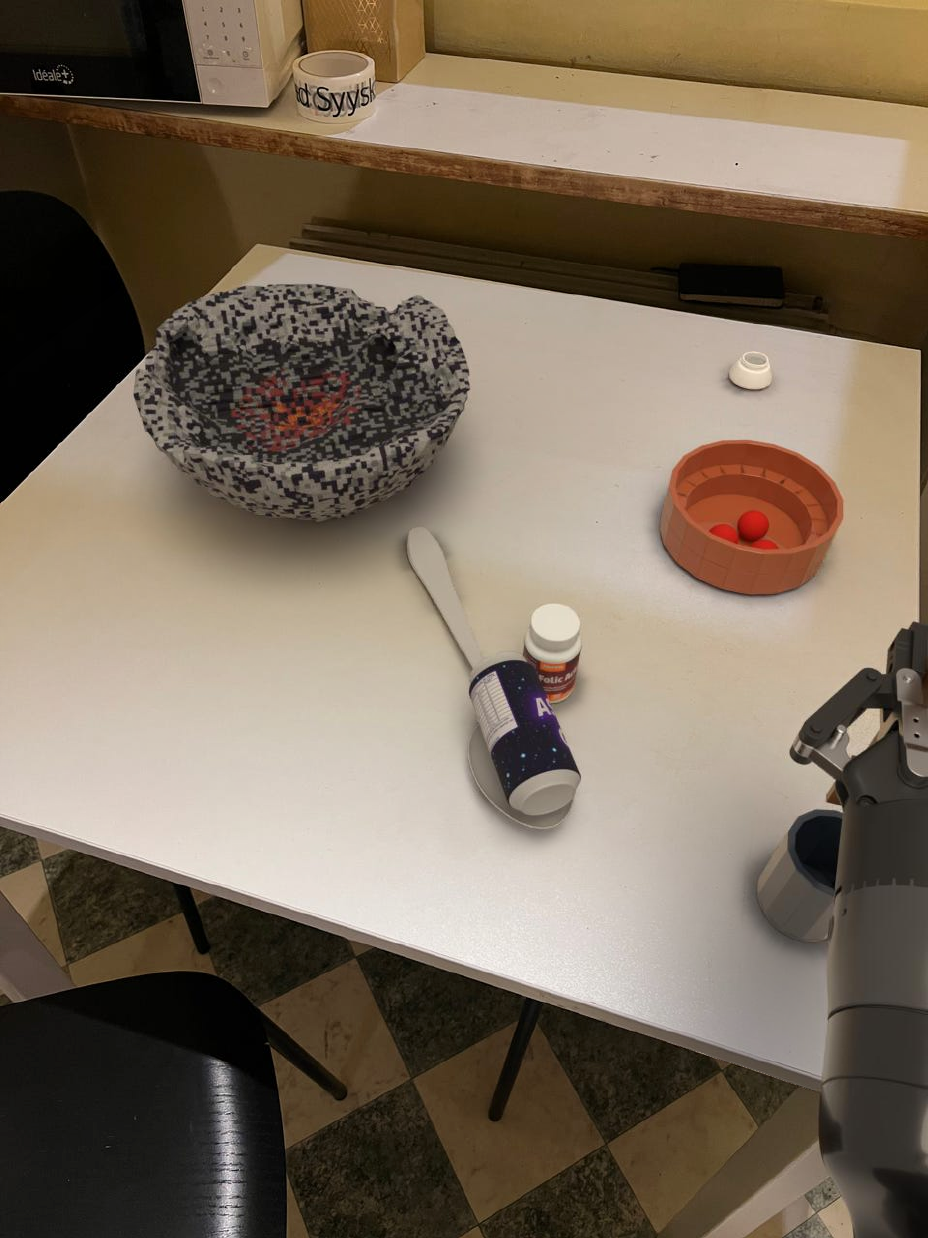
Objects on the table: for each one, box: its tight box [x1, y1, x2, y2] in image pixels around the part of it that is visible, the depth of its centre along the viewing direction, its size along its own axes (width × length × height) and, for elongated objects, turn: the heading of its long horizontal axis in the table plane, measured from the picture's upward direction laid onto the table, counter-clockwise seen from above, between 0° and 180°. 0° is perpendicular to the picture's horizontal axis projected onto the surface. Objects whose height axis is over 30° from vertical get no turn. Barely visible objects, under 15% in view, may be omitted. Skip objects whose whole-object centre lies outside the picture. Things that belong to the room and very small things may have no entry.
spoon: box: [406, 526, 576, 830], centre depth 76 cm, size 35×8×3 cm, turn 19°
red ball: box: [737, 510, 769, 541], centre depth 85 cm, size 3×3×3 cm
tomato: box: [709, 524, 738, 544], centre depth 84 cm, size 3×3×3 cm
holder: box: [756, 808, 843, 943], centre depth 60 cm, size 6×6×8 cm
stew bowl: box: [658, 439, 844, 596], centre depth 85 cm, size 16×16×6 cm
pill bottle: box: [522, 602, 583, 704], centre depth 72 cm, size 5×5×8 cm
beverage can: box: [468, 651, 582, 815], centre depth 66 cm, size 6×6×12 cm
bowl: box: [133, 283, 471, 523], centre depth 87 cm, size 31×31×15 cm
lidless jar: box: [728, 351, 774, 390], centre depth 103 cm, size 5×3×5 cm
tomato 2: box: [750, 540, 779, 550], centre depth 83 cm, size 3×3×3 cm
